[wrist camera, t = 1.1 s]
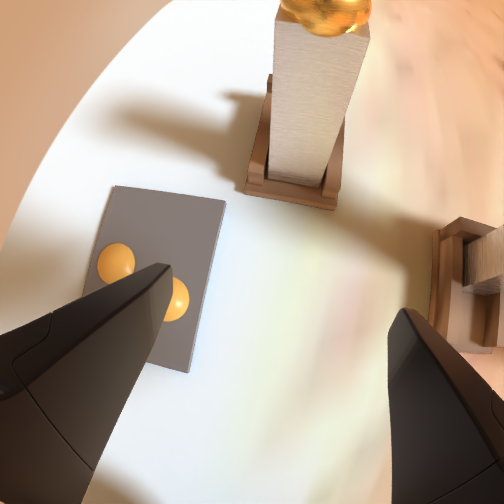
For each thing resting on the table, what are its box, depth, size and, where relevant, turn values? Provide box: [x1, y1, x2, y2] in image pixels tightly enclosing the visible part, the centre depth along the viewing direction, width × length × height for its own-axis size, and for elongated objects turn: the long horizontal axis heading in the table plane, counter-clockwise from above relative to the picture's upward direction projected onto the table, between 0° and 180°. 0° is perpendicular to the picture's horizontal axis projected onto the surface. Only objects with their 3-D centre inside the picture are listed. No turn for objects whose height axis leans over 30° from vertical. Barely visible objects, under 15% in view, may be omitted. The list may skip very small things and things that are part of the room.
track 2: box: [428, 217, 504, 354], centre depth 18 cm, size 9×7×4 cm
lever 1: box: [268, 0, 371, 188], centre depth 14 cm, size 4×4×15 cm
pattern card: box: [82, 185, 226, 373], centre depth 21 cm, size 12×9×1 cm
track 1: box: [244, 74, 345, 211], centre depth 22 cm, size 9×7×4 cm
